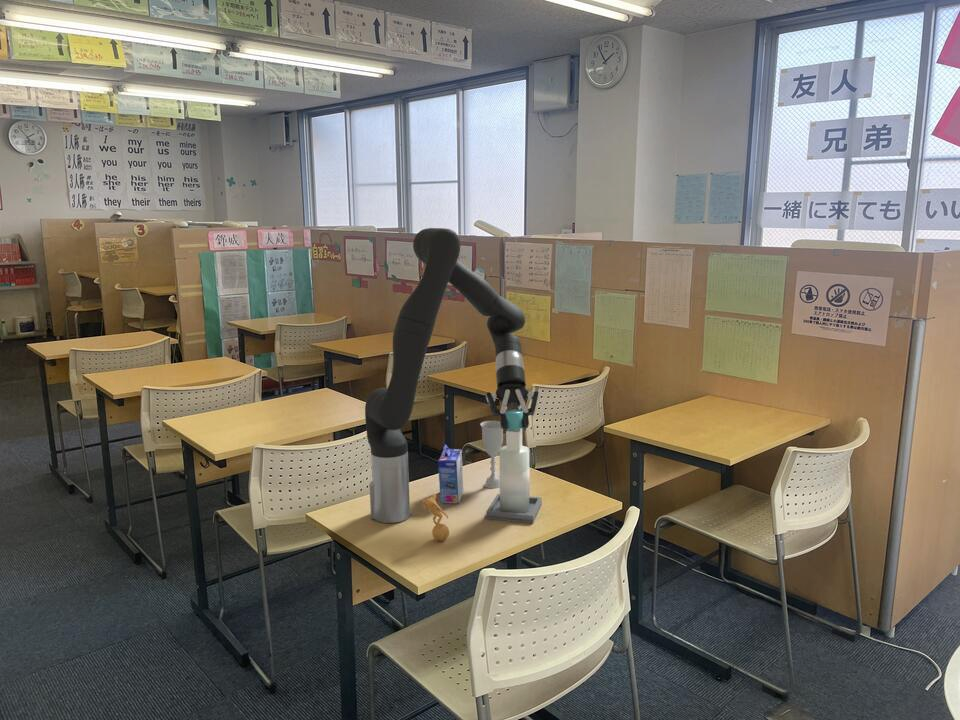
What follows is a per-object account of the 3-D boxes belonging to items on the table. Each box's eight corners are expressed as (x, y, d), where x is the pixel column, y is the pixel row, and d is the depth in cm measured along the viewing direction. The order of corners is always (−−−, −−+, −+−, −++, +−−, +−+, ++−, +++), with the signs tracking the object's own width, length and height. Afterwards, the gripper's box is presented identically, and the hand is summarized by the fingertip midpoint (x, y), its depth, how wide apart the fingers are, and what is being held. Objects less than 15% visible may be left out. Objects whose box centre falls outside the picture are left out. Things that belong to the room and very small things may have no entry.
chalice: (478, 481, 202) (477, 421, 199) (501, 479, 204) (500, 419, 200) (484, 490, 195) (483, 428, 192) (508, 488, 197) (507, 426, 193)
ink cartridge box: (444, 489, 196) (443, 440, 194) (463, 490, 196) (462, 440, 193) (438, 503, 187) (437, 451, 184) (459, 504, 186) (458, 452, 183)
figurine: (459, 542, 164) (457, 494, 161) (440, 551, 160) (438, 501, 157) (435, 532, 169) (434, 485, 167) (416, 540, 165) (414, 492, 163)
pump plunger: (503, 450, 176) (503, 413, 174) (507, 445, 180) (507, 408, 178) (521, 451, 175) (520, 414, 173) (524, 446, 179) (524, 409, 177)
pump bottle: (486, 518, 177) (485, 435, 172) (497, 500, 188) (496, 422, 184) (533, 523, 174) (533, 438, 169) (541, 504, 185) (541, 424, 181)
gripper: (483, 364, 181) (487, 422, 171) (538, 363, 181) (545, 420, 172) (482, 380, 187) (486, 437, 177) (535, 378, 187) (542, 435, 178)
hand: (515, 428), depth 174 cm, fingers closed on pump plunger, 4 cm apart
